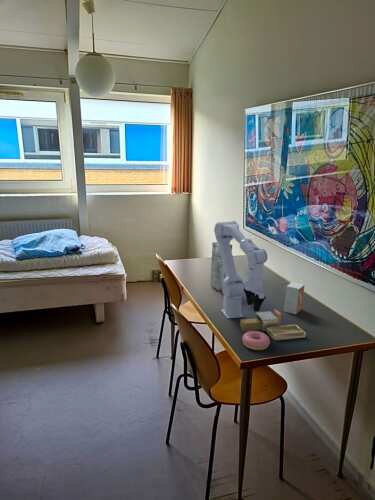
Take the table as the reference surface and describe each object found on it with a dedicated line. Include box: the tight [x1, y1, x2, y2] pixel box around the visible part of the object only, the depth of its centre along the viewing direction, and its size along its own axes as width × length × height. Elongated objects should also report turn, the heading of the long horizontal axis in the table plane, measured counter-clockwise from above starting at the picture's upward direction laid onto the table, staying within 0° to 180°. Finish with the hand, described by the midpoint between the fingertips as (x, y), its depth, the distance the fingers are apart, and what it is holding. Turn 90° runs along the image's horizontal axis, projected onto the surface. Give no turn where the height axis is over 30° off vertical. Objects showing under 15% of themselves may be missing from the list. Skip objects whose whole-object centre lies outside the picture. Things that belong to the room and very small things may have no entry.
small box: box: [283, 281, 305, 315], centre depth 176 cm, size 8×6×13 cm
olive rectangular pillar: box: [239, 317, 262, 332], centre depth 158 cm, size 9×4×4 cm, turn 103°
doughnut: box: [241, 330, 271, 351], centre depth 144 cm, size 11×11×4 cm
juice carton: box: [210, 241, 233, 292], centre depth 202 cm, size 9×10×27 cm
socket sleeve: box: [254, 311, 278, 332], centre depth 159 cm, size 8×7×5 cm
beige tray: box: [266, 324, 307, 341], centre depth 153 cm, size 7×14×2 cm, turn 104°
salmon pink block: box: [273, 309, 282, 326], centre depth 159 cm, size 5×8×6 cm, turn 104°
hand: (253, 307), depth 156 cm, fingers open, 6 cm apart
